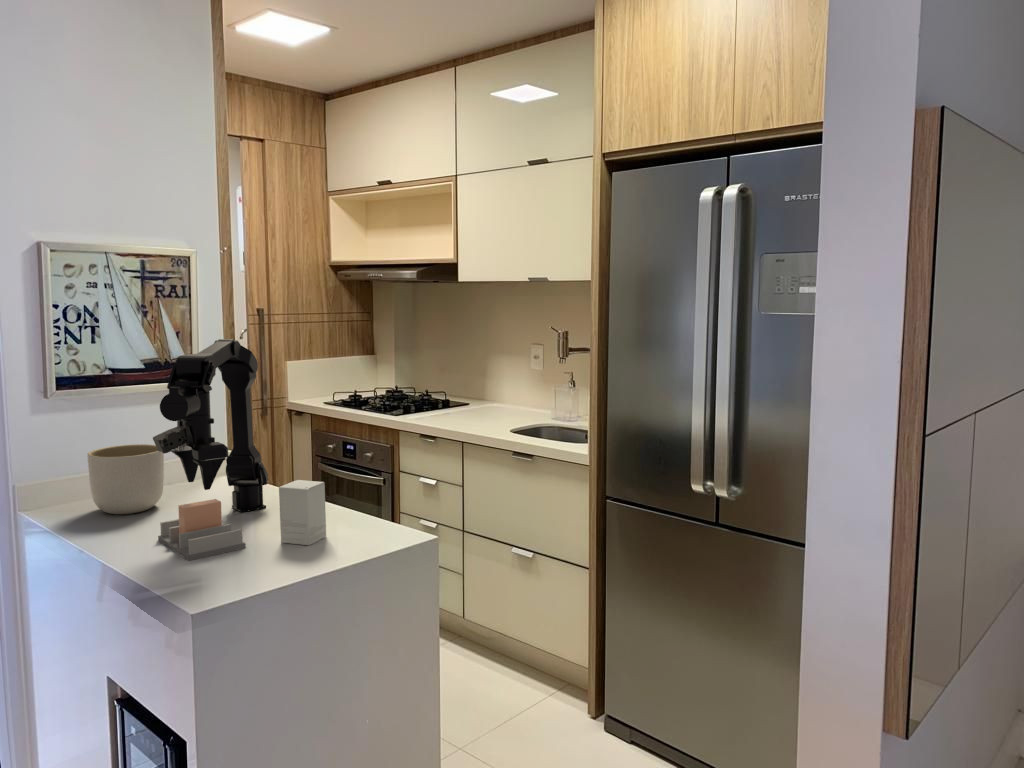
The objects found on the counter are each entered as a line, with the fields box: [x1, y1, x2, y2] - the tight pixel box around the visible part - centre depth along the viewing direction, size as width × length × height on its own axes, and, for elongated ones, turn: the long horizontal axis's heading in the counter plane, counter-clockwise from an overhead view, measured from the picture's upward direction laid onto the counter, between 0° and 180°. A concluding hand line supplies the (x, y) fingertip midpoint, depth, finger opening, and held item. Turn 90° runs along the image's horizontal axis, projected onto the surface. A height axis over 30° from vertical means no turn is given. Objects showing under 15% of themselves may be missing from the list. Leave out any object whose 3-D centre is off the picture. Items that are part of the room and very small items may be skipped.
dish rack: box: [157, 518, 246, 561], centre depth 165 cm, size 12×18×4 cm, turn 43°
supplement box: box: [278, 479, 327, 546], centre depth 168 cm, size 7×7×13 cm
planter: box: [87, 443, 165, 515], centre depth 191 cm, size 17×17×15 cm
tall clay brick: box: [177, 498, 223, 533], centre depth 165 cm, size 8×3×8 cm, turn 133°
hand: (198, 485), depth 164 cm, fingers open, 9 cm apart
